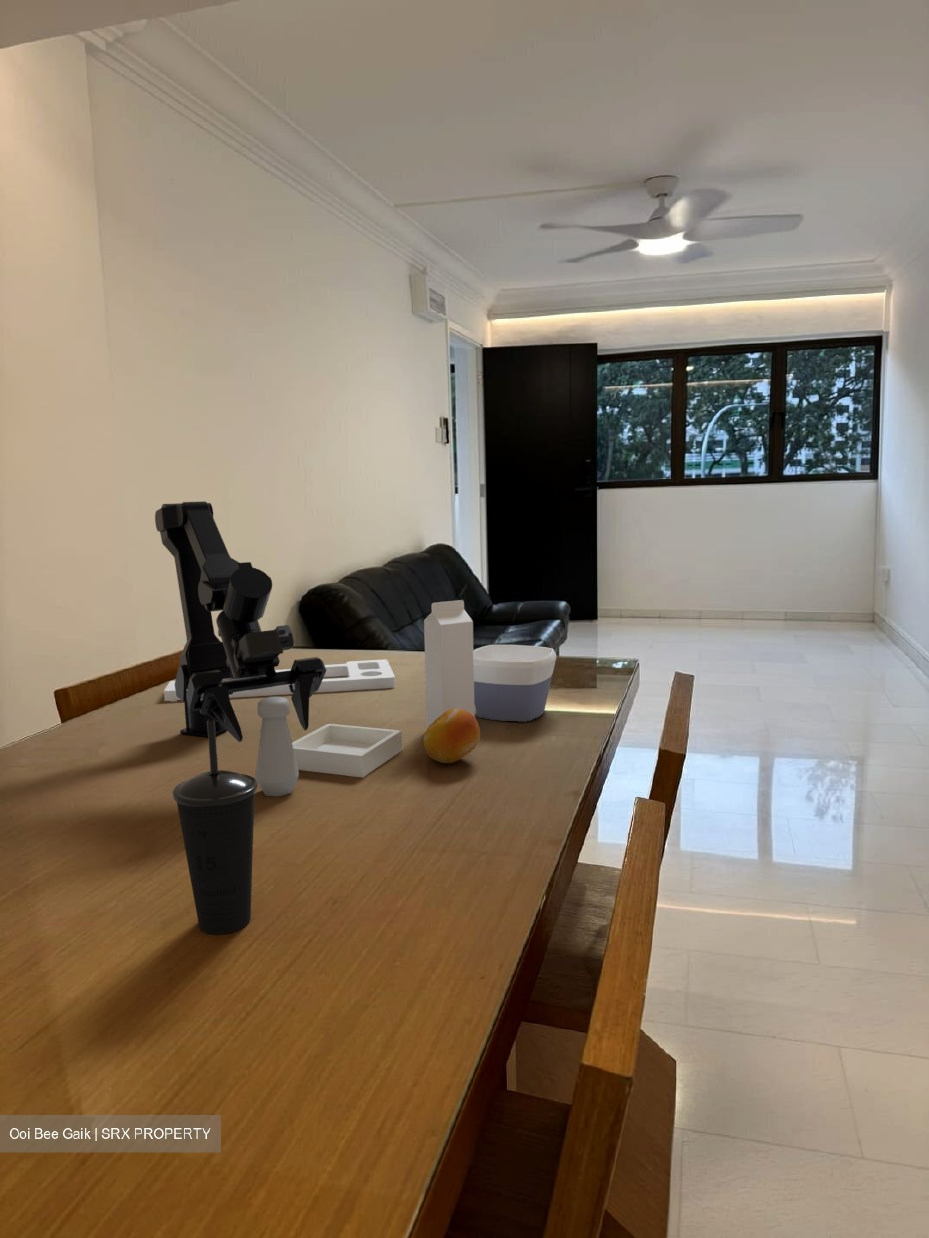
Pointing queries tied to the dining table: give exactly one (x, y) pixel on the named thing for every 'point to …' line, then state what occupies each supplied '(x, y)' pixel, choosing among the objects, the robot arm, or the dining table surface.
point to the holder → (326, 680)
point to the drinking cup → (218, 842)
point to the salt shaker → (275, 749)
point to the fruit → (452, 736)
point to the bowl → (512, 681)
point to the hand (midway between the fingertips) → (274, 734)
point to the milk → (448, 659)
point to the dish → (346, 749)
